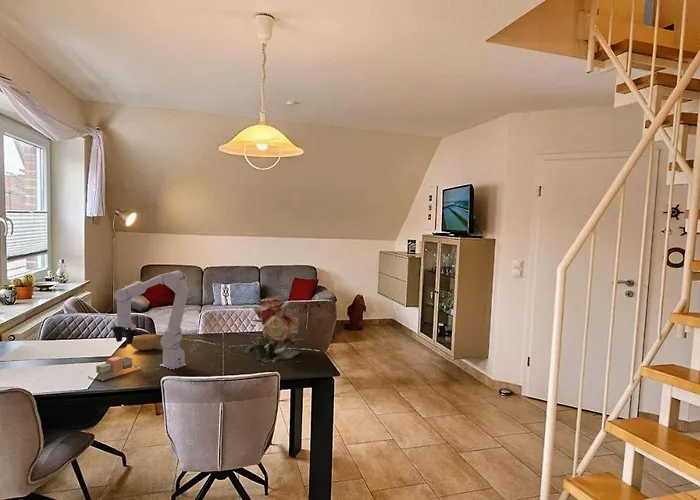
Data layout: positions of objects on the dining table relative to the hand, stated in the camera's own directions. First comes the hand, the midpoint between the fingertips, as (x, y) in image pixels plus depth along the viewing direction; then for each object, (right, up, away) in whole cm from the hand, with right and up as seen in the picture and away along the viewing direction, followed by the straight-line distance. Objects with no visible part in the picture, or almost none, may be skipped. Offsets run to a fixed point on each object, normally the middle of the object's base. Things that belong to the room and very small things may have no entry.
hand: (124, 342), depth 208 cm
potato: (0, -9, +21) cm, 23 cm away
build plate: (+2, -11, -12) cm, 16 cm away
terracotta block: (+2, -10, -12) cm, 15 cm away
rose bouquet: (+67, -10, +22) cm, 71 cm away
